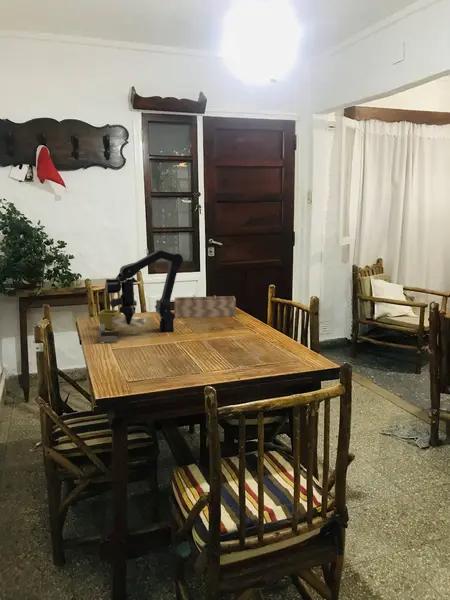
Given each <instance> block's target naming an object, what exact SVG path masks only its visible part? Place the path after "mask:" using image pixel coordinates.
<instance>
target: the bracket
mask: <svg viewBox="0 0 450 600" xmlns="http://www.w3.org/2000/svg"><path fill="white" fill-rule="evenodd" d="M97 333H98V334H97V336H98V344H102V343H101V342H113V343H112V344H116V343H115V342H117V341H118V342H119V341H120V339H121V331H106V329H105V324H101V325H99V326H98V328H97ZM119 338H120V339H119ZM118 342H117V343H118Z"/></svg>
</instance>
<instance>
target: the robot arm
mask: <svg viewBox="0 0 450 600" xmlns="http://www.w3.org/2000/svg"><path fill="white" fill-rule="evenodd" d="M161 259H163V260H165V261H167V272H166V273H167V274H166V277H165V281H164V282H165V283H164V285H163V290H162V295H161V297H160V299H156V304H155V305H154V308H155V312H156V314H157V315H158V316H159V317H160V321H159V330H160V332H162V333H163V332H164V333H165V332H167V333H169V332H175V331H174V330H175V326H174V325H175V324H174V322H175V321H174V320H175V313H174V312H172V311H171V310H172V303H171V299H172V298H171V297H172V295H173V292H174V291H173V289H174V286H175V282H176V278H177V273H178V271H179V270H180V268H181V266H182V264H183V261H184V257H183V256H182V254H180V253H175V252H167V251H164V250H162V249H156V250H155V251H154V252H152V253H151V254H150V253H149V254H148V255H147V256H144V257H143V258H141V259H139V260H137V261H136V262H131V263H127V264H125V265H122V266H121V267H120V269H119V273H118V274H117V275H116V277H115V278H112V279H111V278H110V279H109V278H105V285H104V290H105V293H106V294H108V295H109V294H119V292H121V295H120V296H119V297H117V298H116V297H115V298H112V299H111V300H110V301H109V304H110V306H111V308H112V309H114V308H115V307H118V306H120V307H119V309H118V310H119V314H122V315H124V317H125V318H126V321H127V324H128V325H129V324H130V322H131V319H132V317H134V314H135V312H136V307H137V305H138V303H137V302H138V301H137V300H136V299H135V293H134V291H135V290H134V287H135V286H134V283H138V280H137V279H136V278H135V277H134V276H136V275H137V274H138V273H139V272H140V271H141V270H142V269H144V268H146V267H148V266H149V265H152V264H153V263H155V262H157V261H158V260H161ZM134 306H135V307H134Z"/></svg>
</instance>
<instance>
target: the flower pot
mask: <svg viewBox="0 0 450 600" xmlns="http://www.w3.org/2000/svg"><path fill="white" fill-rule="evenodd" d="M97 315H98V322H99V324H100V325H99V326H101V324H105V328H107V329H106V330H111V329H112V330H114V329H116V327H112V318H113V317H120V313H119V309H102V310H101V311H99V312H98V313H97ZM113 328H114V329H113Z"/></svg>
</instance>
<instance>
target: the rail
mask: <svg viewBox="0 0 450 600" xmlns="http://www.w3.org/2000/svg"><path fill="white" fill-rule="evenodd" d="M146 326H147V317H146V316H145V317H144V316H138V317H137V316H133V317H132V319H131V322H130V324H129V325H128V324H127V321H126V318H125V316H119V317H113V318H112V327H115V328H118V327H120V328H121V327H123V328H126V327H127V328H131V327H133V328H134V327H135V328H139V327H140V328H144V327H146Z"/></svg>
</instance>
